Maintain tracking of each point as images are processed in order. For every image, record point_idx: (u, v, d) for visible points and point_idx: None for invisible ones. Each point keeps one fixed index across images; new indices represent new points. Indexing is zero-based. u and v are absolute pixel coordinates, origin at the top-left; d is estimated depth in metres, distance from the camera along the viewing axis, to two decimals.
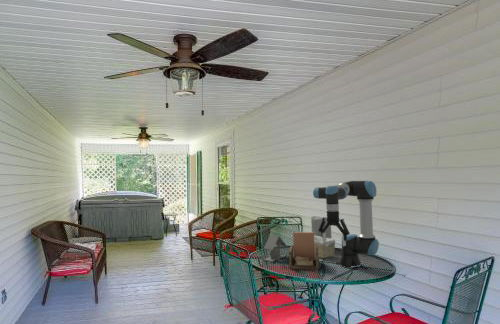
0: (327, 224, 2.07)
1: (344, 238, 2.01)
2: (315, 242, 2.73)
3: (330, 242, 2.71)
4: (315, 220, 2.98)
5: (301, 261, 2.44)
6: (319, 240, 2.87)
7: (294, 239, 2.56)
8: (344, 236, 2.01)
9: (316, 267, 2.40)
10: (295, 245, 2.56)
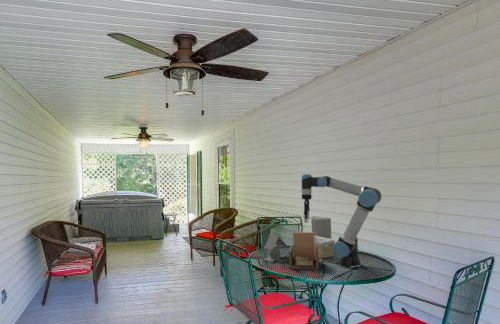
0: None
1: (305, 216, 2.50)
2: (314, 242, 2.72)
3: (329, 242, 2.71)
4: (315, 220, 2.98)
5: (301, 261, 2.44)
6: (319, 240, 2.87)
7: (294, 239, 2.56)
8: (305, 215, 2.50)
9: (316, 267, 2.40)
10: (295, 245, 2.56)
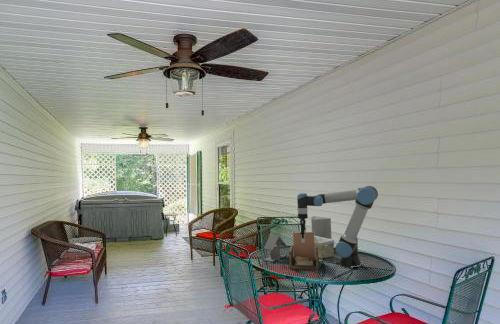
0: None
1: (301, 236, 2.49)
2: (314, 242, 2.72)
3: (329, 242, 2.70)
4: (315, 220, 2.98)
5: (301, 261, 2.44)
6: (318, 240, 2.86)
7: (294, 239, 2.56)
8: (301, 234, 2.49)
9: (316, 267, 2.40)
10: (295, 245, 2.56)
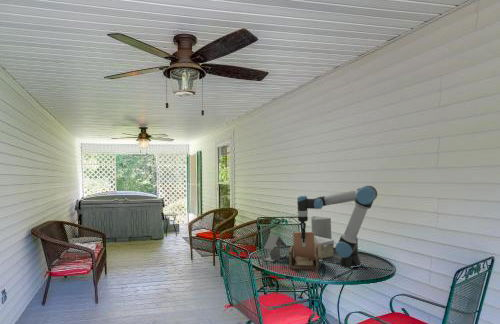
0: None
1: (302, 240, 2.54)
2: None
3: (328, 242, 2.70)
4: (315, 220, 2.98)
5: (301, 261, 2.44)
6: (318, 240, 2.86)
7: (294, 239, 2.56)
8: (302, 239, 2.54)
9: (316, 267, 2.40)
10: (295, 245, 2.56)
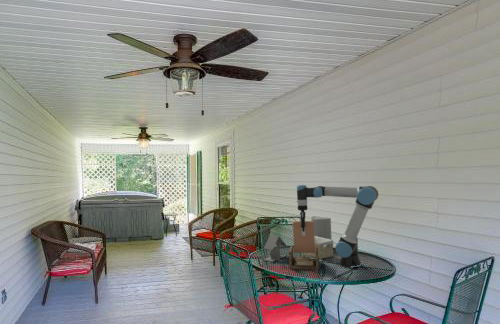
0: None
1: None
2: None
3: (328, 243, 2.70)
4: (315, 220, 2.98)
5: (301, 261, 2.44)
6: (318, 240, 2.86)
7: (294, 228, 2.56)
8: None
9: (316, 267, 2.40)
10: (295, 234, 2.56)
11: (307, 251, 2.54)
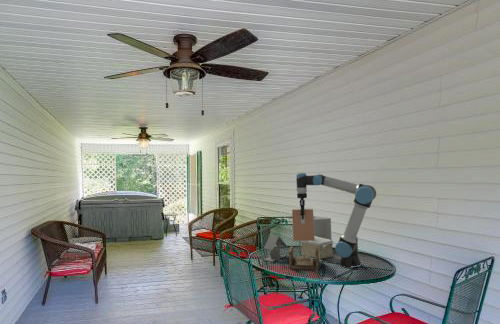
0: None
1: (301, 217, 2.54)
2: (312, 242, 2.71)
3: (327, 243, 2.69)
4: (315, 220, 2.98)
5: (301, 261, 2.44)
6: (317, 241, 2.85)
7: (294, 216, 2.56)
8: (301, 215, 2.54)
9: (316, 267, 2.40)
10: (294, 222, 2.56)
11: (306, 239, 2.54)
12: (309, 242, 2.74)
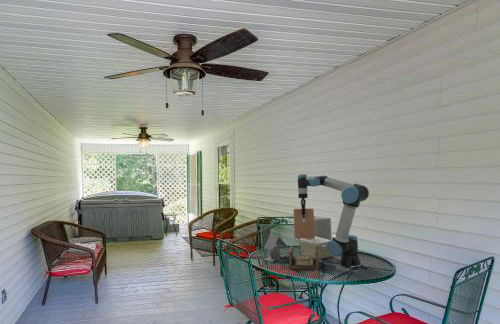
0: None
1: (302, 216, 2.68)
2: (311, 243, 2.71)
3: (326, 243, 2.69)
4: (315, 220, 2.98)
5: (301, 261, 2.44)
6: (317, 241, 2.85)
7: (295, 215, 2.70)
8: (302, 214, 2.68)
9: (316, 267, 2.40)
10: (295, 221, 2.70)
11: (307, 237, 2.68)
12: (308, 242, 2.74)
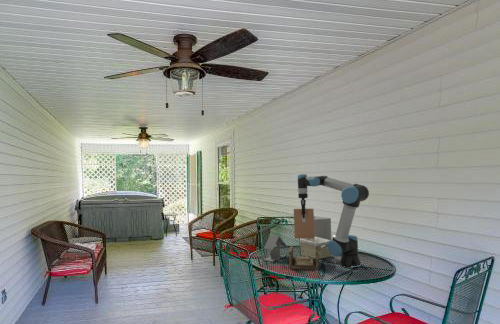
0: None
1: (302, 216, 2.68)
2: (311, 243, 2.71)
3: (326, 243, 2.69)
4: (315, 220, 2.98)
5: (301, 261, 2.44)
6: (316, 241, 2.85)
7: (295, 215, 2.70)
8: (302, 214, 2.68)
9: (316, 267, 2.40)
10: (295, 221, 2.70)
11: (307, 237, 2.68)
12: (308, 242, 2.74)
